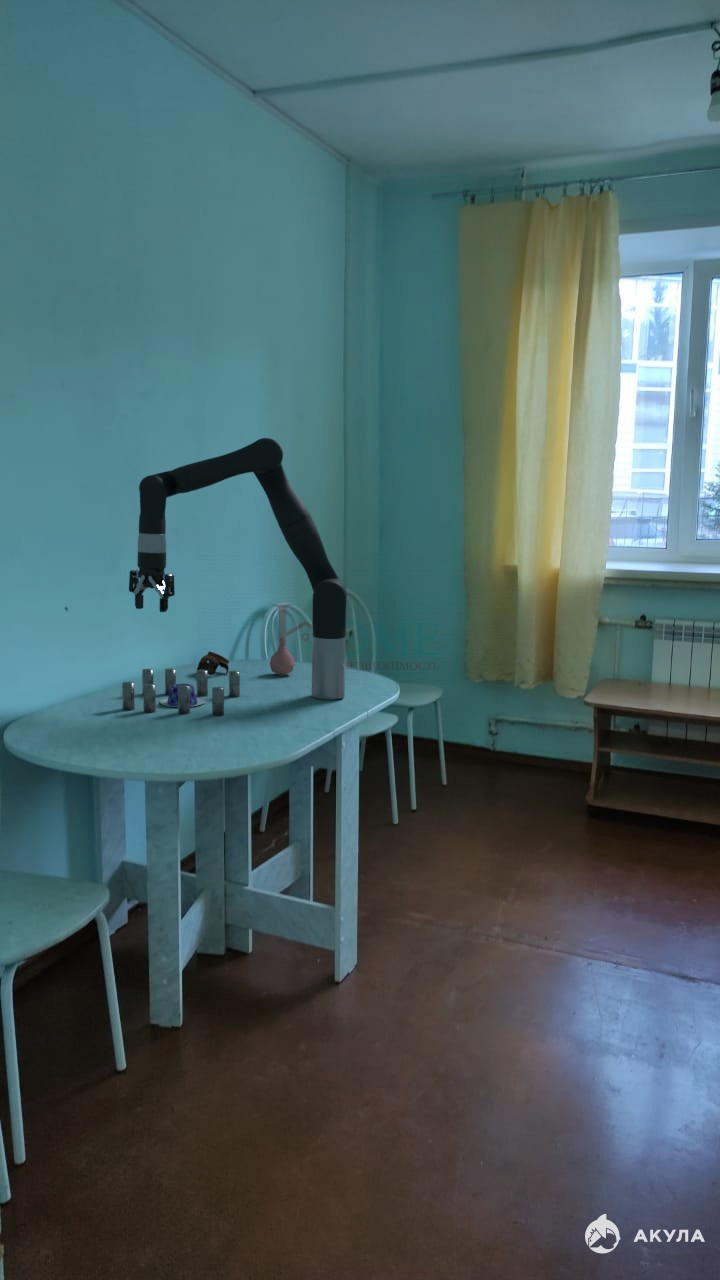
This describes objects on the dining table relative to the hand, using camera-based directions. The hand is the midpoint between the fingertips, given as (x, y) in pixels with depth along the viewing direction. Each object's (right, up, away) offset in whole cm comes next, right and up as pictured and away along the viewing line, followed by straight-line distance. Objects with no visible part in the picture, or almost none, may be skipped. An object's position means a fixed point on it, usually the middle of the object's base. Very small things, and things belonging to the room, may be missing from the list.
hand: (151, 610), depth 251 cm
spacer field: (+9, -25, -2) cm, 27 cm away
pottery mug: (+11, -19, +37) cm, 43 cm away
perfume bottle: (+32, -19, +40) cm, 55 cm away
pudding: (+9, -26, -1) cm, 27 cm away
